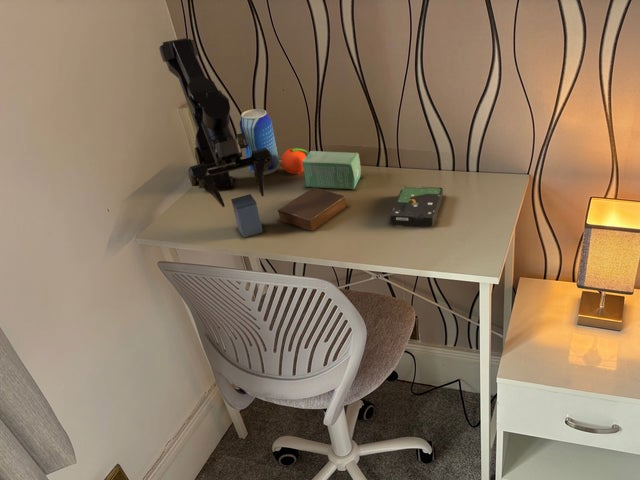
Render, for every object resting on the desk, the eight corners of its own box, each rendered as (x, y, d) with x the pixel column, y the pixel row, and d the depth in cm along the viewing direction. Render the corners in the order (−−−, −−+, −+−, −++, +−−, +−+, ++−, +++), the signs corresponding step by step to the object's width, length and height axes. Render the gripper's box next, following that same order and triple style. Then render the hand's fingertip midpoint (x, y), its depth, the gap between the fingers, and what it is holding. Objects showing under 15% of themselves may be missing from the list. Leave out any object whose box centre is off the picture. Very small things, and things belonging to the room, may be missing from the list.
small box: (238, 229, 147) (231, 199, 143) (257, 223, 149) (250, 193, 144) (243, 237, 144) (236, 207, 139) (262, 232, 146) (256, 201, 141)
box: (355, 190, 160) (352, 163, 156) (305, 188, 163) (301, 161, 158) (362, 177, 166) (359, 151, 161) (313, 176, 168) (309, 150, 164)
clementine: (312, 165, 173) (309, 141, 169) (313, 176, 168) (309, 151, 163) (283, 169, 173) (279, 144, 168) (283, 180, 167) (279, 155, 163)
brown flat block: (279, 220, 150) (277, 209, 148) (315, 197, 158) (313, 187, 156) (311, 231, 145) (309, 220, 143) (346, 207, 153) (345, 196, 151)
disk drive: (434, 228, 143) (443, 196, 154) (434, 217, 141) (443, 186, 153) (390, 225, 145) (402, 195, 156) (389, 215, 143) (401, 185, 155)
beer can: (270, 177, 169) (259, 120, 159) (244, 174, 171) (231, 118, 162) (285, 164, 175) (275, 108, 165) (259, 161, 177) (248, 106, 168)
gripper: (177, 132, 132) (202, 199, 131) (261, 113, 139) (286, 177, 137) (180, 154, 143) (203, 216, 142) (258, 135, 149) (280, 195, 148)
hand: (243, 201), depth 142 cm, fingers open, 9 cm apart
